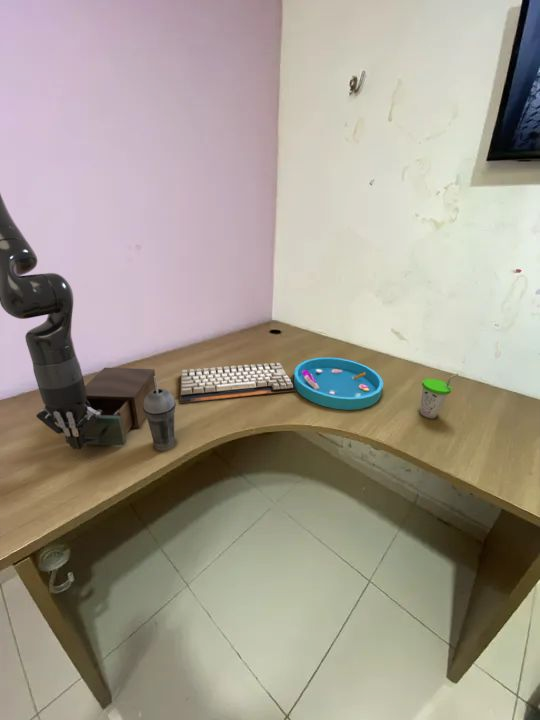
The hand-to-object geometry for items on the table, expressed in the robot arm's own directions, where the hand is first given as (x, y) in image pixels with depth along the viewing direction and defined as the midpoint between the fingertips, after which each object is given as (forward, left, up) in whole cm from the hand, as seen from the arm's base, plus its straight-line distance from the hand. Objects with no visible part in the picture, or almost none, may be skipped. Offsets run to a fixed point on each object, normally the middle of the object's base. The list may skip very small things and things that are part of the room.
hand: (79, 446), depth 68 cm
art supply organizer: (+66, +40, -5) cm, 78 cm away
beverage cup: (+16, +7, -5) cm, 18 cm away
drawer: (0, +11, -4) cm, 11 cm away
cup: (+91, +24, -5) cm, 94 cm away
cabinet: (0, +21, -5) cm, 22 cm away
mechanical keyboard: (+31, +39, -5) cm, 50 cm away
